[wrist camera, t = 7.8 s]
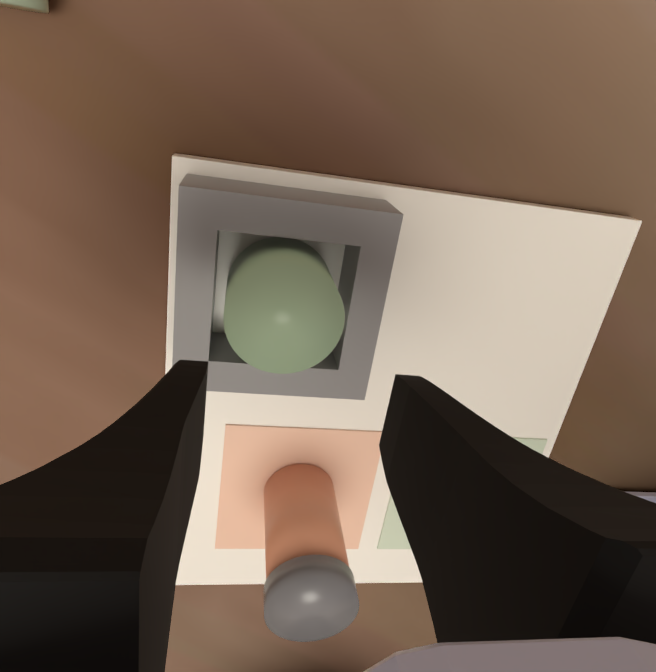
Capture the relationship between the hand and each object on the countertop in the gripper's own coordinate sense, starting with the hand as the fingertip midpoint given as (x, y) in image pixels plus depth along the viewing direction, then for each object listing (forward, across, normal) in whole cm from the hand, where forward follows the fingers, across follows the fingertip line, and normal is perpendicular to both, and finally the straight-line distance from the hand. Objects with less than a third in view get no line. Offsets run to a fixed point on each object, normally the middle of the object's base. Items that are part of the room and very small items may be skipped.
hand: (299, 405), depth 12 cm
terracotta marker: (+8, -2, +10) cm, 13 cm away
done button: (+8, 0, 0) cm, 8 cm away
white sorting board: (+9, -5, +6) cm, 12 cm away
